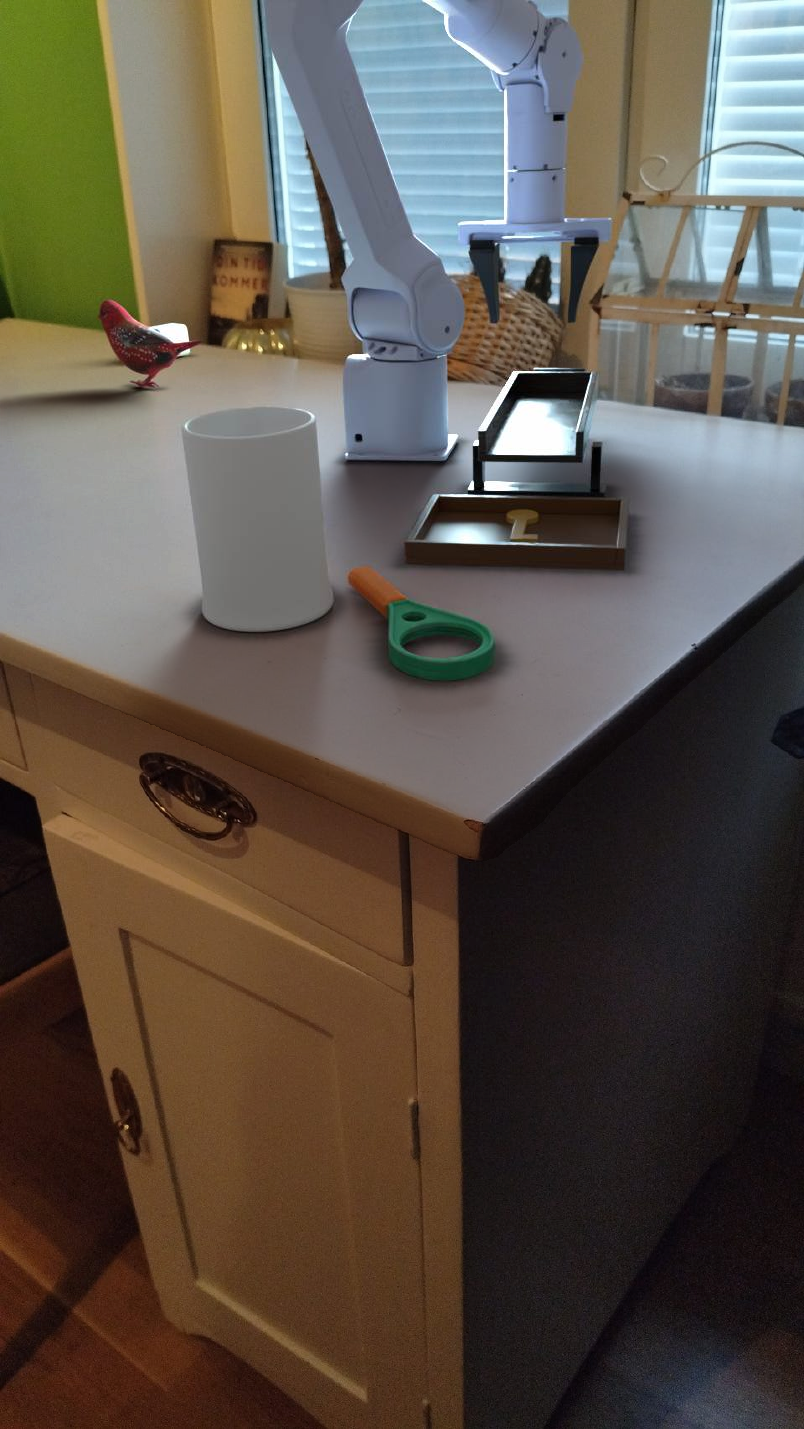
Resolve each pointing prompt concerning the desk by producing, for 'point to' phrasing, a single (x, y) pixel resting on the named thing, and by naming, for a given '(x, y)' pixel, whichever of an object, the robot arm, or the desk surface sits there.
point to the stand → (539, 488)
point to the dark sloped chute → (541, 417)
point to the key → (522, 525)
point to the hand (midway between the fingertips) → (533, 321)
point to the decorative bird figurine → (139, 343)
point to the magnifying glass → (423, 630)
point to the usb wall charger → (174, 333)
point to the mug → (258, 517)
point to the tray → (564, 532)
